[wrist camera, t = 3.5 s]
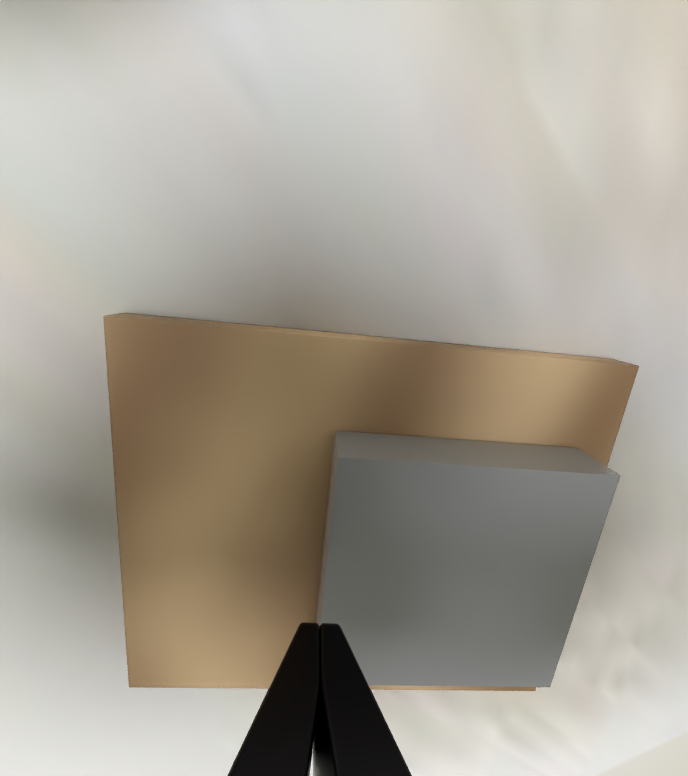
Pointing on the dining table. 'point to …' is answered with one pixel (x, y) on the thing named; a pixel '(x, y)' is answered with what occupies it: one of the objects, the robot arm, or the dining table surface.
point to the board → (290, 467)
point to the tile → (458, 556)
